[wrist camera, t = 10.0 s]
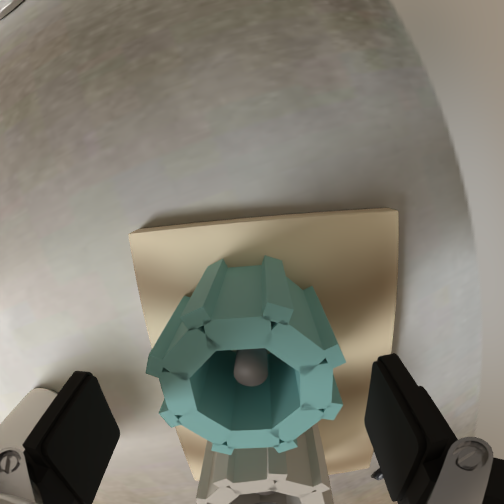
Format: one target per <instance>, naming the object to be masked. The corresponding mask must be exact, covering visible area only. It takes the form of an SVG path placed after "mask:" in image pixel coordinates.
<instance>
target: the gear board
mask: <svg viewBox="0 0 504 504" xmlns="http://www.w3.org/2000/svg"><path fill="white" fill-rule="evenodd" d="M128 235H129V241H130V247H131V253H132V259H133V264H134V270H135V275H136V280H137V285H138V290H139V295H140V300H141V304H142V309H143V313H144V318H145V322H146V326H147V331H148V335H149V339H150V343H151V347H152V349H153V347H154V345H155V343H156V342H157V340H158V338H159V337H160V335H161V333H162V331H163V330H164V328H165V326H166V325H167V323H168V321H169V320H170V318H171V316H172V315H173V313H174V311H175V310H176V308H177V306H178V305H179V303H180V301H181V300H182V298H183V296H187V297H190V298H191V296H192V294H193V292H194V290H195V288H196V287H197V285H198V283H199V281H200V279H201V277H202V276H203V274H204V272H205V270H206V268H207V267H208V266H210V265H212V264H213V263H215V262H217V261H219V260H221V259H224V261H225V263H226V265H227V267H228V268H229V267H242V266H254V265H262V262H263V259H264V256H265V255H266V256H269V257H272V258H276V259H279V260H282V263H283V267H284V271H285V275H286V277H288V278H289V279H290V280H291V281H293V282H294V283H295V284H296V285H297V286H299V287H300V288H301V289H302V290H304V289H306V288H309V287H311V286H313V288H314V290H315V292H316V294H317V296H318V298H319V301H320V303H321V305H322V307H323V310H324V312H325V314H326V316H327V319H328V321H329V323H330V325H331V328H332V330H333V332H334V335H335V337H336V339H337V341H338V344H339V346H340V348H341V351H342V353H343V355H344V358H345V360H346V363H344V364H342V365H340V366H338V367H336V368H333V375H334V378H335V381H336V384H337V387H338V390H339V393H340V396H341V399H342V402H343V406H342V408H341V409H340V411H339V412H338V414H337V416H336V417H335V419H334V420H328V419H321V420H320V421H318V422H317V423H318V428H319V432H320V437H321V440H322V445H323V450H324V455H325V460H326V465H327V470H328V475H332V474H338V473H344V472H350V471H355V470H360V469H365V468H369V466H370V462H371V458H372V454H373V450H374V449H373V447H372V444H371V441H370V439H369V436H368V433H367V431H366V428H365V423H364V418H365V412H366V406H367V399H368V393H369V386H370V379H371V371H372V364H373V362H374V361H377V359H378V357H379V356H383V355H388V354H391V349H392V340H393V331H394V321H395V309H396V295H397V277H398V240H399V224H398V211H396V210H393V209H390V208H375V209H358V210H342V211H327V212H313V213H300V214H287V215H275V216H263V217H251V218H240V219H229V220H219V221H208V222H198V223H189V224H179V225H170V226H161V227H152V228H143V229H138V230H136V231H133V232H131V233H129V234H128ZM231 351H233V352H234V353H236V358H235V366H234V377H235V379H236V380H237V381H238V382H239V383H240V384H242V385H245V386H258V385H260V384H262V383H263V382H264V381H265V380H266V379H267V376H268V361H267V354H269V353H270V351H268V350H267V349H265V348H257V349H242V350H231ZM175 428H176V431H177V434H178V436H179V439H180V442H181V445H182V448H183V451H184V453H185V456H186V459H187V461H188V464H189V467H190V469H191V472H192V474H193V477H194V479H195V481H199V480H200V475H201V470H202V464H203V459H204V454H205V448H206V443H207V440H206V439H204V438H203V437H201V436H199V435H197V434H196V433H194V432H192V431H191V430H189V429H187V428H185V427H184V426H182V425H179V426H175ZM273 493H275V491H267V492H259V493H257V494H260V495H270V494H273Z"/></svg>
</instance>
